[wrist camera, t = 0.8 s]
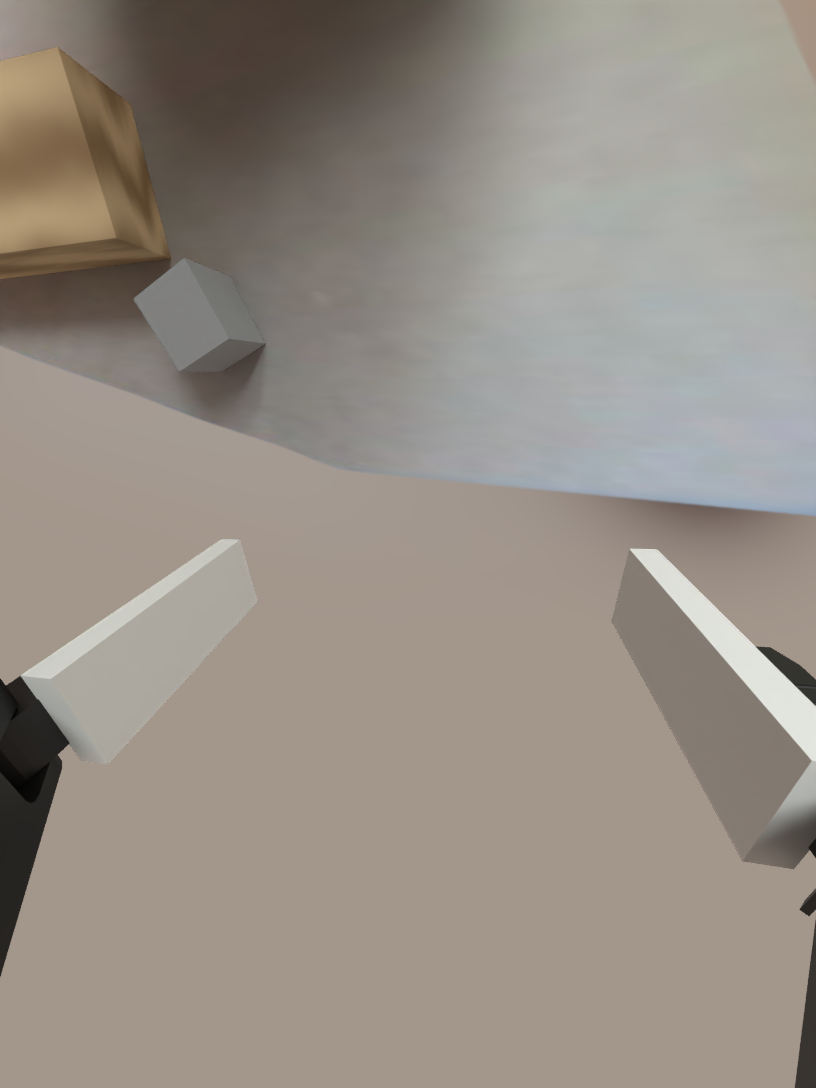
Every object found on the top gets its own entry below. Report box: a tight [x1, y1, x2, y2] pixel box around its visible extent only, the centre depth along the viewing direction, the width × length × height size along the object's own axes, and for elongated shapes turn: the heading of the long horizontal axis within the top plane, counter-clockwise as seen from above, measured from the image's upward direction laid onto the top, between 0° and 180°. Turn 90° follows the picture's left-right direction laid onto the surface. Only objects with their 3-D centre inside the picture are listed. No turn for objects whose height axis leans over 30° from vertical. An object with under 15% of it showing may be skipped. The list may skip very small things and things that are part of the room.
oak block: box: [0, 47, 171, 279], centre depth 30 cm, size 10×23×6 cm, turn 92°
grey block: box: [133, 258, 266, 372], centre depth 32 cm, size 6×6×6 cm
